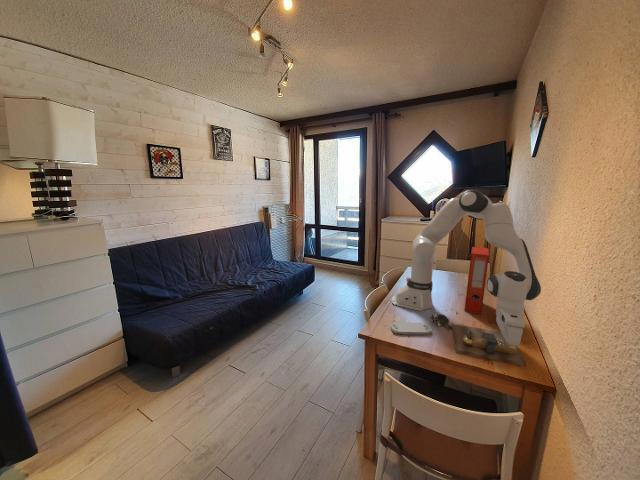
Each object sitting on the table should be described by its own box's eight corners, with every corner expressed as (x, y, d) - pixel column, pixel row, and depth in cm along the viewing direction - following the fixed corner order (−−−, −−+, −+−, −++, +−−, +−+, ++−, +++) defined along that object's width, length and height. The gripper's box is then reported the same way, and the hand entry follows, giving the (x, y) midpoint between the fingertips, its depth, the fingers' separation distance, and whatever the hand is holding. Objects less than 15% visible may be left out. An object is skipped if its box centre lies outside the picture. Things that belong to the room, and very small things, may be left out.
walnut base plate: (456, 352, 107) (456, 349, 106) (451, 326, 127) (451, 323, 126) (525, 366, 98) (525, 362, 98) (508, 336, 118) (509, 332, 118)
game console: (393, 330, 120) (389, 321, 128) (393, 335, 120) (389, 326, 128) (434, 331, 119) (427, 322, 127) (433, 336, 119) (427, 326, 127)
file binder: (481, 302, 153) (488, 248, 146) (481, 314, 138) (489, 255, 132) (465, 299, 157) (471, 246, 150) (464, 311, 142) (470, 253, 136)
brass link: (463, 345, 109) (464, 333, 108) (462, 339, 113) (463, 328, 112) (516, 355, 102) (518, 343, 101) (513, 349, 106) (515, 337, 105)
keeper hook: (484, 352, 104) (485, 340, 103) (481, 343, 110) (482, 332, 109) (496, 355, 103) (497, 342, 102) (492, 345, 109) (494, 334, 108)
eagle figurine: (428, 325, 126) (448, 327, 120) (429, 310, 129) (449, 312, 123) (433, 328, 131) (453, 330, 125) (434, 313, 134) (454, 315, 128)
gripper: (494, 300, 116) (490, 329, 119) (506, 322, 98) (501, 356, 100) (511, 303, 114) (507, 332, 117) (527, 326, 95) (521, 360, 98)
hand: (504, 343), depth 108 cm, fingers closed
